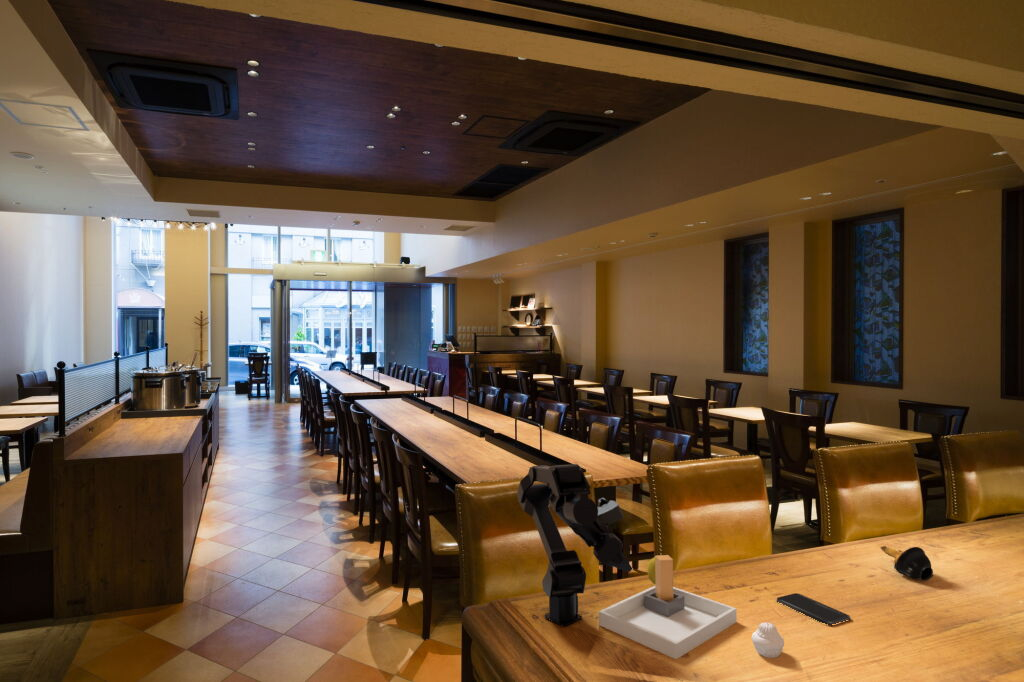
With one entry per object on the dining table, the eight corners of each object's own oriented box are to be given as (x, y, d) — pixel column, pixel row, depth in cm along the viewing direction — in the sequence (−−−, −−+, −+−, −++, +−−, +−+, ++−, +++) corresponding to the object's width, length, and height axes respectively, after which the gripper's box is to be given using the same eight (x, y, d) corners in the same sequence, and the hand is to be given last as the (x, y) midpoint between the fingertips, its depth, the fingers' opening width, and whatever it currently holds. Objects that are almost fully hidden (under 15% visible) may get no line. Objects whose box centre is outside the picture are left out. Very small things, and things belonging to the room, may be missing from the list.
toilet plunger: (911, 569, 157) (860, 527, 173) (915, 599, 161) (865, 556, 177) (942, 554, 157) (888, 515, 174) (945, 585, 161) (892, 543, 178)
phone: (829, 623, 135) (774, 598, 149) (829, 628, 135) (774, 602, 149) (852, 616, 138) (797, 592, 152) (852, 621, 138) (797, 596, 152)
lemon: (670, 591, 155) (669, 560, 155) (648, 589, 156) (647, 559, 156) (668, 583, 161) (668, 553, 161) (647, 581, 162) (647, 551, 162)
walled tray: (676, 664, 120) (675, 644, 120) (598, 629, 135) (598, 611, 135) (736, 626, 136) (736, 608, 136) (661, 598, 151) (661, 582, 151)
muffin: (775, 649, 125) (775, 615, 125) (790, 665, 119) (790, 629, 119) (746, 650, 125) (746, 616, 125) (759, 665, 119) (759, 630, 119)
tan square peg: (660, 611, 141) (659, 560, 141) (655, 605, 144) (655, 555, 144) (673, 610, 142) (673, 559, 142) (668, 605, 145) (668, 555, 145)
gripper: (612, 501, 129) (663, 550, 130) (591, 481, 147) (635, 525, 148) (576, 539, 128) (627, 589, 129) (559, 515, 146) (604, 558, 147)
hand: (624, 562), depth 138 cm, fingers open, 9 cm apart
